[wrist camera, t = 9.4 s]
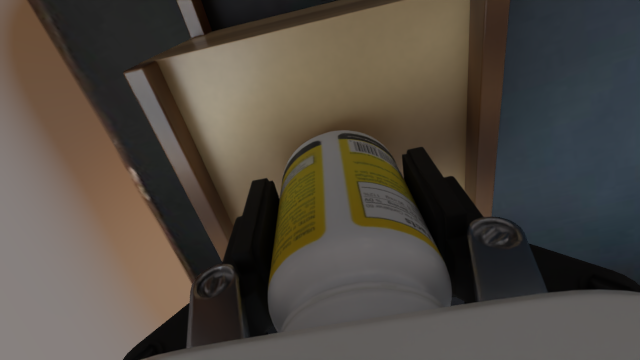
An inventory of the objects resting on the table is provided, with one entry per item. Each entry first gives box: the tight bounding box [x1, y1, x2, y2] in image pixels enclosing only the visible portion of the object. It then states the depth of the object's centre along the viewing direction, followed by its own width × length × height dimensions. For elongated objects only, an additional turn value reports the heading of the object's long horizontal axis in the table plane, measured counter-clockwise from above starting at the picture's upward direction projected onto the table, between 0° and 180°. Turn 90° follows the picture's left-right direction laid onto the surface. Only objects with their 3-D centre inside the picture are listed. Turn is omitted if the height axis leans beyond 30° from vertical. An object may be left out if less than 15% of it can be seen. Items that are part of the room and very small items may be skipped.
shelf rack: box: [123, 0, 510, 262], centre depth 14 cm, size 24×13×9 cm, turn 12°
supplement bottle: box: [268, 130, 452, 333], centre depth 10 cm, size 5×5×8 cm
